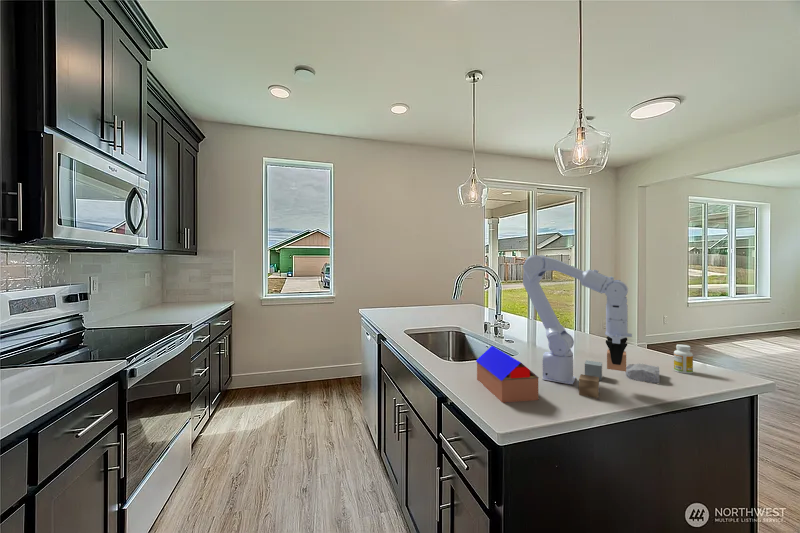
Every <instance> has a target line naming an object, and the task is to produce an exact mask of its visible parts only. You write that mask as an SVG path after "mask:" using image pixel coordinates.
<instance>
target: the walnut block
mask: <svg viewBox="0 0 800 533" xmlns="http://www.w3.org/2000/svg"><path fill="white" fill-rule="evenodd" d="M599 394H600V380H599V377H595V376H589V375H585V374H580V375H579V377H578V395H579V396H583V397H587V398H594V399H599Z"/></svg>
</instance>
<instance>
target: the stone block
mask: <svg viewBox="0 0 800 533" xmlns="http://www.w3.org/2000/svg"><path fill="white" fill-rule="evenodd" d="M624 372H625V371H624ZM625 376H626V377H627V378H628V379H629V380H632V381H637V382H643V381H646V383H650V382H652V384H657V383H659V384H660V367H659V366H657V365H656V366H655V365H651V364H646V363H632V364H627V365H626V372H625Z"/></svg>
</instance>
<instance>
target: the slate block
mask: <svg viewBox="0 0 800 533" xmlns="http://www.w3.org/2000/svg"><path fill="white" fill-rule="evenodd" d="M584 375H589V376H595V377H599V381H602V379H603V362H601V361H596V360H595V361H594V360H588V359H586V360H585V361H584Z"/></svg>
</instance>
